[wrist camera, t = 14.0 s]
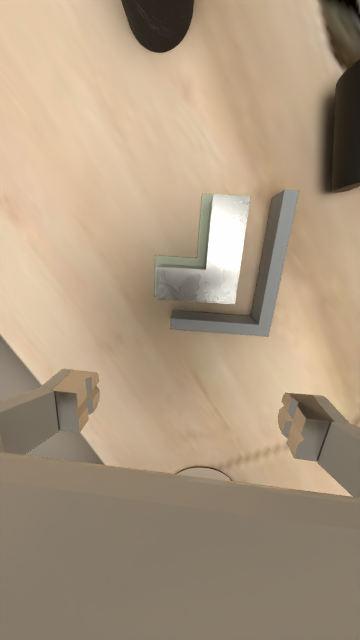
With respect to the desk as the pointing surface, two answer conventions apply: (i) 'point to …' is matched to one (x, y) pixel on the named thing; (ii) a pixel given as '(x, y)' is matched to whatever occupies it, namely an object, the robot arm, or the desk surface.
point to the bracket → (211, 257)
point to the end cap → (347, 131)
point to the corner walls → (266, 282)
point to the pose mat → (201, 242)
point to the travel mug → (159, 21)
